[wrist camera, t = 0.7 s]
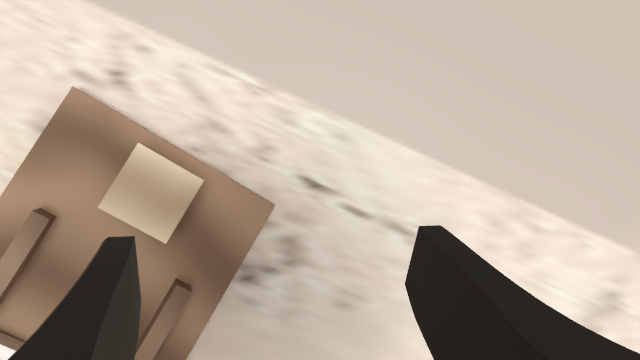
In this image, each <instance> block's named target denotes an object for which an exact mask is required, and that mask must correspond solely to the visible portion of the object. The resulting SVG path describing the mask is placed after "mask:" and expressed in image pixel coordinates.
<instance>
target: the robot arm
mask: <svg viewBox="0 0 640 360" xmlns="http://www.w3.org/2000/svg"><path fill="white" fill-rule="evenodd" d="M405 286H406V289H407V293H408V296H409V300H410V303H411V307H412V310H413V313H414V316H415V319H416V321H417V323H418V326H419V328H420V330H421V332H422V334H423V337H424V339H425V341H426V343H427V346H428V348H429V350H430V352H431V354H432V356H433V358H434V360H640V354H639V353H637V352H634V351H632V350H630V349H628V348H626V347H623V346H621V345H619V344H617V343H615V342H613V341H611V340H609V339H607V338H605V337H603V336H601V335H599V334H597V333H595V332H593V331H591V330H589V329H587V328H585V327H584V326H582V325H580V324H578V323H576V322H574V321H573V320H571V319H569V318H568V317H566V316H564V315H563V314H561V313H559V312H558V311H556V310H554V309H553V308H551V307H549V306H548V305H546V304H545V303H543V302H541V301H540V300H538V299H537V298H535V297H534V296H532V295H531V294H530V293H528V292H527V291H525V290H524V289H522V288H521V287H520V286H518V285H517V284H515V283H514V282H513V281H511V280H510V279H509V278H507V277H506V276H504V275H503V274H502V273H501V272H499V271H498V270H497V269H495V268H494V267H493V266H491V265H490V264H489V263H488V262H486V261H485V260H484V259H483V258H481V257H480V256H479V255H478V254H476V253H475V252H474V251H473V250H471V249H470V248H469V247H468V246H466V245H465V244H464V243H463V242H461V241H460V240H459V239H458V238H456V237H455V236H454V235H453V234H451V233H450V232H449V231H447V230H446V229H445V228H443V227H442V226H419V229H418V233H417V237H416V241H415V245H414V249H413V253H412V257H411V261H410V265H409V269H408V273H407V277H406V282H405ZM140 310H141V292H140V282H139V272H138V262H137V253H136V243H135V236H122V237H107V238H106V239H105V240H104V241H103V242H102V244H101V246H100V247H99V249H98V250H97V252H96V254H95V255H94V257H93V258H92V260H91V261H90V263H89V264H88V266H87V267H86V268H85V270H84V271H83V273H82V274H81V276H80V277H79V278H78V280H77V281H76V282H75V284H74V285H73V286H72V288H71V289H70V290H69V292H68V293H67V294H66V295H65V297H64V298H63V299H62V301H61V302H60V303H59V304H58V305H57V307H56V308H55V309H54V310H53V311H52V313H51V314H50V315H49V316H48V317H47V318H46V320H45V321H44V322H43V323H42V324H41V325H40V327H39V328H38V329H37V330H36V331H35V332H34V333H33V334H32V335H31V336H30V337H29V339H28V340H27V341H26V342H25V343H24V344H23V345H22V346H21V347H20V348H19V349H18V350H17V351H16V352H15V353H14V354H13V355H12V356H11V357H10V358H9V359H8V360H134V358H135V352H136V347H137V342H138V335H139V323H140Z"/></svg>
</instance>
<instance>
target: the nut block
mask: <svg viewBox="0 0 640 360" xmlns="http://www.w3.org/2000/svg"><path fill="white" fill-rule="evenodd" d="M203 181H204V180H202V179H201V178H199V177H197V176H196V175H194V174H192V173H190V172H189V171H187V170H185V169H183V168H182V167H180V166H178V165H176V164H175V163H173V162H171V161H170V160H168V159H166V158H164V157H163V156H161V155H159V154H157V153H156V152H154V151H152V150H150V149H149V148H147V147H145V146H144V145H142V144H140V143H138V144H137V145H136V147H135V149H134V150H133V152H132V153H131V155H130V157H129V158H128V160H127V161H126V163H125V165H124V166H123V168H122V169H121V171H120V172H119V174H118V176H117V177H116V179H115V180H114V182H113V184H112V185H111V187H110V188H109V190H108V192H107V193H106V195H105V196H104V198H103V200H102V201H101V203H100V204H99V206H98V208H99V209H101V210H103V211H105V212H107V213H109V214H111V215H113V216H114V217H116V218H118V219H120V220H122V221H124V222H126V223H128V224H129V225H131V226H133V227H135V228H137V229H139V230H141V231H143V232H145V233H146V234H148V235H150V236H152V237H154V238H156V239H158V240H160V241H161V242H163V243H165V244H166V243H167V241H168V240H169V238H170V236H171V235H172V233H173V231H174V230H175V228H176V226H177V225H178V223H179V221H180V220H181V218H182V216H183V215H184V213H185V211H186V210H187V208H188V206H189V205H190V203H191V201H192V200H193V198H194V196H195V195H196V193H197V191H198V190H199V188H200V186H201V185H202V183H203Z"/></svg>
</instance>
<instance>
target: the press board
mask: <svg viewBox="0 0 640 360" xmlns="http://www.w3.org/2000/svg"><path fill="white" fill-rule="evenodd" d="M138 143H140V144H142V145H144V146H145V147H147V148H149V149H150V150H152V151H154V152H156V153H157V154H159V155H161V156H163V157H164V158H166V159H168V160H170V161H171V162H173V163H175V164H176V165H178V166H180V167H182V168H183V169H185V170H187V171H189V172H190V173H192V174H194V175H196V176H197V177H199V178H201V179H202V180H204V181H203V183H202V185H201V186H200V188H199V190H198V191H197V193H196V195H195V196H194V198H193V200H192V201H191V203H190V205H189V206H188V208H187V210H186V211H185V213H184V215H183V216H182V218H181V220H180V221H179V223H178V225H177V226H176V228H175V230H174V231H173V233H172V235H171V236H170V238H169V240H168V241H167V243H166V244H165V243H163V242H161V241H160V240H158V239H156V238H154V237H152V236H150V235H148V234H146V233H145V232H143V231H141V230H139V229H137V228H135V227H133V226H131V225H129V224H128V223H126V222H124V221H122V220H120V219H118V218H116V217H114V216H113V215H111V214H109V213H107V212H105V211H103V210H101V209H99V208H98V206H99V204H100V203H101V201H102V200H103V198H104V196H105V195H106V193H107V192H108V190H109V188H110V187H111V185H112V184H113V182H114V180H115V179H116V177H117V176H118V174H119V172H120V171H121V169H122V168H123V166H124V165H125V163H126V161H127V160H128V158H129V157H130V155H131V153H132V152H133V150H134V149H135V147H136V145H137V144H138ZM274 206H275V205H274V204H273V203H271V202H269V201H268V200H266V199H264V198H263V197H261V196H259V195H257V194H256V193H254V192H252V191H251V190H249V189H247V188H245V187H244V186H242V185H240V184H239V183H237V182H235V181H234V180H232V179H230V178H228V177H227V176H225V175H223V174H222V173H220V172H218V171H216V170H215V169H213V168H211V167H210V166H208V165H206V164H205V163H203V162H201V161H199V160H198V159H196V158H194V157H193V156H191V155H189V154H187V153H186V152H184V151H182V150H181V149H179V148H177V147H176V146H174V145H172V144H170V143H169V142H167V141H165V140H164V139H162V138H160V137H158V136H157V135H155V134H153V133H152V132H150V131H148V130H147V129H145V128H143V127H141V126H140V125H138V124H136V123H135V122H133V121H131V120H129V119H128V118H126V117H124V116H123V115H121V114H119V113H118V112H116V111H114V110H112V109H111V108H109V107H107V106H106V105H104V104H102V103H100V102H99V101H97V100H95V99H94V98H92V97H90V96H89V95H87V94H85V93H83V92H82V91H80V90H78V89H77V88H75V87H72V88H71V90H70V91H69V93H68V94H67V96H66V97H65V99H64V100H63V102H62V103H61V105H60V106H59V108H58V110H57V111H56V113H55V114H54V116H53V117H52V119H51V120H50V122H49V123H48V125H47V126H46V128H45V129H44V131H43V132H42V134H41V135H40V137H39V139H38V140H37V142H36V143H35V145H34V146H33V148H32V149H31V151H30V152H29V154H28V155H27V157H26V158H25V160H24V161H23V163H22V164H21V166H20V168H19V169H18V171H17V172H16V174H15V175H14V177H13V178H12V180H11V181H10V183H9V184H8V186H7V187H6V189H5V190H4V192H3V193H2V195H1V197H0V332H2V333H4V334H7V335H9V336H11V337H13V338H16V339H18V340H20V341H22V342H26V341H27V340H28V339H29V337H30V336H31V335H32V334H33V333H34V332H35V331H36V330H37V329H38V328H39V327H40V325H41V324H42V323H43V322H44V321H45V320H46V318H47V317H48V316H49V315H50V314H51V313H52V311H53V310H54V309H55V308H56V307H57V305H58V304H59V303H60V302H61V301H62V299H63V298H64V297H65V295H66V294H67V293H68V292H69V290H70V289H71V288H72V286H73V285H74V284H75V282H76V281H77V280H78V278H79V277H80V276H81V274H82V273H83V271H84V270H85V268H86V267H87V266H88V264H89V263H90V261H91V260H92V258H93V257H94V255H95V254H96V252H97V250H98V249H99V247H100V246H101V244H102V242H103V241H104V240H105V239H106V238H107V237H122V236H135V243H136V253H137V262H138V272H139V282H140V292H141V310H140V323H139V335H138V342H137V347H136V352H135V358H134V360H186V358H187V356H188V355H189V353H190V351H191V349H192V348H193V346H194V344H195V343H196V341H197V339H198V337H199V336H200V334H201V332H202V330H203V329H204V327H205V325H206V324H207V322H208V320H209V318H210V317H211V315H212V313H213V311H214V310H215V308H216V306H217V305H218V303H219V301H220V299H221V298H222V296H223V294H224V292H225V291H226V289H227V287H228V286H229V284H230V282H231V280H232V279H233V277H234V275H235V273H236V272H237V270H238V268H239V267H240V265H241V263H242V261H243V260H244V258H245V256H246V254H247V253H248V251H249V249H250V248H251V246H252V244H253V242H254V241H255V239H256V237H257V235H258V234H259V232H260V230H261V229H262V227H263V225H264V223H265V222H266V220H267V218H268V216H269V215H270V213H271V211H272V210H273V208H274Z"/></svg>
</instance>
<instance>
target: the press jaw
mask: <svg viewBox="0 0 640 360" xmlns="http://www.w3.org/2000/svg"><path fill="white" fill-rule="evenodd" d="M24 343H25V342H22V341H20V340H18V339H16V338H13V337H11V336H9V335H7V334H4V333H2V332H0V360H8V359H9V358H10V357H11V356H12V355H13V354H14V353H15V352H16V351H17V350H18V349H19V348H20V347H21V346H22V345H23V344H24Z"/></svg>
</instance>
